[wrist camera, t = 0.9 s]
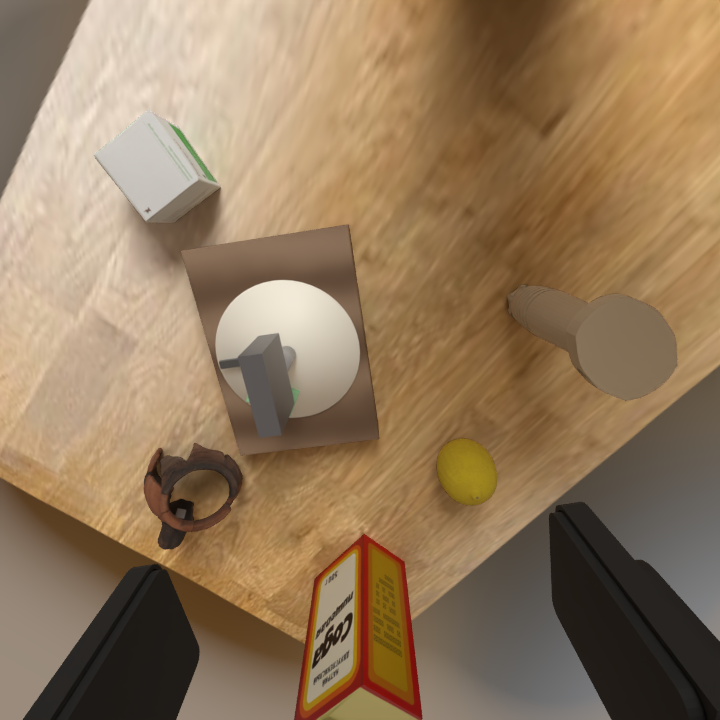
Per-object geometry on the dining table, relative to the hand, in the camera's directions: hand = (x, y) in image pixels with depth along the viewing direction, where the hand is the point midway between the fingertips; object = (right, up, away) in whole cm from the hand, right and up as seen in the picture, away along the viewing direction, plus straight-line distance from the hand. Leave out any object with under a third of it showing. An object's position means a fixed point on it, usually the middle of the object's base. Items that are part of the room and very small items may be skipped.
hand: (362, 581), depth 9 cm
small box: (-16, +21, +23) cm, 35 cm away
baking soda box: (0, -21, +38) cm, 43 cm away
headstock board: (-7, +7, +28) cm, 29 cm away
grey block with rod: (-9, +5, +25) cm, 27 cm away
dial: (-7, +6, +25) cm, 27 cm away
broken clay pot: (-18, -8, +33) cm, 39 cm away
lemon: (+10, -4, +32) cm, 34 cm away
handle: (+15, +11, +26) cm, 32 cm away
